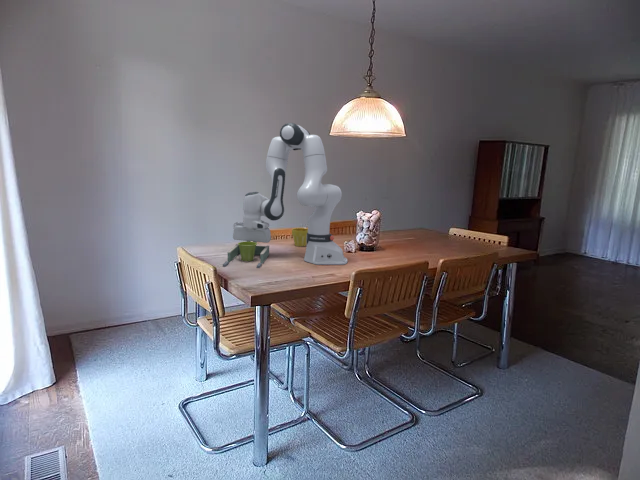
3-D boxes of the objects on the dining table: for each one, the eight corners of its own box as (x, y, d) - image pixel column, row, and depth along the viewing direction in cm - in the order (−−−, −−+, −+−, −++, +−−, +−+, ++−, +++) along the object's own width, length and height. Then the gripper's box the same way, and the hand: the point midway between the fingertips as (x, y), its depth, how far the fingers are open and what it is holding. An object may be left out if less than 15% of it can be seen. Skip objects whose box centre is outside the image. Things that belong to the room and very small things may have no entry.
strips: (261, 265, 211) (261, 263, 211) (259, 268, 205) (259, 266, 205) (225, 263, 211) (225, 261, 211) (222, 266, 205) (222, 264, 205)
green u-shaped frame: (269, 254, 234) (269, 245, 233) (262, 263, 214) (263, 253, 213) (236, 253, 234) (236, 244, 233) (227, 261, 214) (227, 252, 213)
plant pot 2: (288, 246, 257) (289, 229, 255) (295, 243, 267) (295, 227, 265) (305, 247, 254) (306, 231, 252) (311, 244, 264) (311, 228, 262)
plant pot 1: (253, 263, 214) (253, 245, 212) (235, 261, 216) (235, 244, 214) (259, 259, 223) (259, 242, 221) (242, 257, 225) (242, 240, 223)
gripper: (230, 222, 226) (230, 248, 229) (267, 225, 221) (267, 252, 224) (236, 221, 232) (235, 246, 235) (272, 224, 227) (271, 249, 230)
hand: (251, 249), depth 229 cm, fingers closed
